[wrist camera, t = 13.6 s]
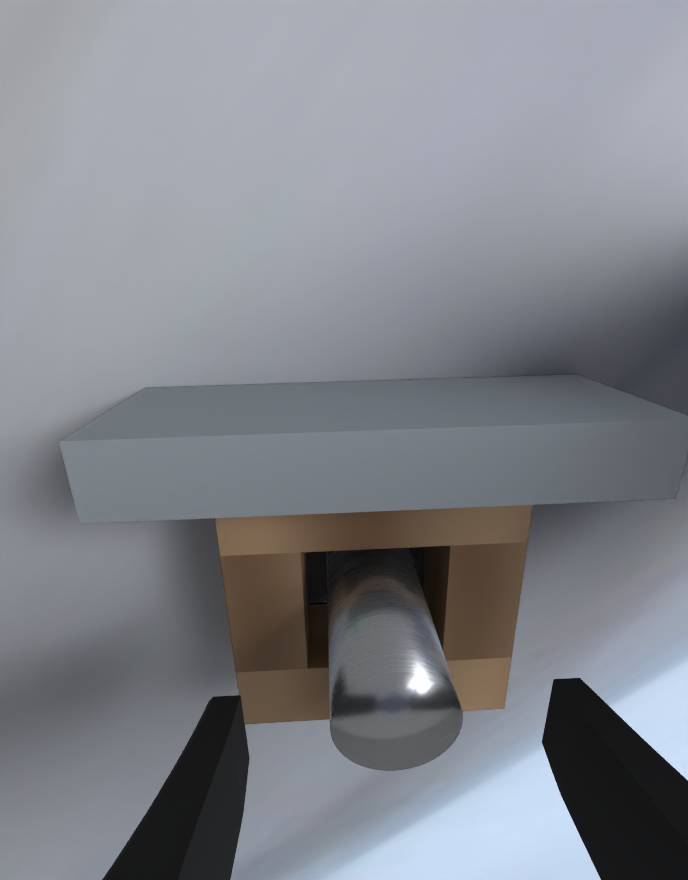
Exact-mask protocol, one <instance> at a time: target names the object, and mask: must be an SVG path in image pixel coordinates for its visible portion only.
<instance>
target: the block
mask: <svg viewBox="0 0 688 880" xmlns="http://www.w3.org/2000/svg"><path fill="white" fill-rule="evenodd" d="M532 507H533V505H516V506H493V507H469V508H445V509H422V510H398V511H374V512H351V513H327V514H303V515H280V516H256V517H232V518H215V523H216V530H217V538H218V545H219V552H220V560H221V567H222V574H223V582H224V589H225V596H226V604H227V611H228V618H229V626H230V633H231V640H232V648H233V655H234V663H235V670H236V677H237V685H238V692H239V695H241V701H242V708H243V716H244V723H245V724H257V723H274V722H290V721H307V720H324V719H330V696H329V649H328V604H317V605H310V599H309V582H308V565H307V552H321V551H343V550H365V549H387V548H409V547H425V562H424V583H423V592H424V596H425V599H426V602H427V605H428V608H429V611H430V614H431V617H432V620H433V623H434V626H435V629H436V632H437V635H438V638H439V641H440V644H441V647H442V650H443V653H444V657H445V660H446V663H447V666H448V669H449V672H450V675H451V678H452V681H453V684H454V687H455V690H456V693H457V696H458V699H459V702H460V705H461V709H462V711H474V710H491V709H504V708H505V701H506V694H507V687H508V680H509V672H510V665H511V658H512V651H513V644H514V636H515V629H516V622H517V615H518V608H519V600H520V593H521V586H522V579H523V572H524V564H525V557H526V550H527V543H528V536H529V529H530V521H531V514H532Z"/></svg>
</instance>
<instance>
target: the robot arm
mask: <svg viewBox="0 0 688 880" xmlns="http://www.w3.org/2000/svg"><path fill="white" fill-rule="evenodd" d="M542 744H543V746H544V749H545V752H546V755H547V758H548V761H549V764H550V766H551V769H552V772H553V775H554V777H555V780H556V783H557V785H558V788H559V791H560V793H561V796H562V798H563V800H564V802H565V805H566V807H567V809H568V811H569V813H570V815H571V817H572V819H573V822H574V824H575V826H576V828H577V830H578V832H579V834H580V836H581V839H582V841H583V843H584V845H585V847H586V849H587V851H588V853H589V855H590V857H591V860H592V862H593V864H594V866H595V868H596V870H597V872H598V874H599V876H600V878H601V880H688V780H686V779H685V778H684V777H683V776H682V775H681V774H680V773H679V772H678V771H677V770H676V769H675V768H673V767H672V766H671V765H670V764H669V763H668V762H667V761H666V760H665V759H664V758H663V757H662V756H660V755H659V754H658V753H657V752H656V751H655V750H654V749H653V748H652V747H651V746H650V745H649V744H648V743H647V742H646V741H644V740H643V739H642V738H641V737H640V736H639V735H638V734H637V733H636V732H635V731H634V730H633V729H632V728H631V727H630V726H629V725H628V724H627V723H626V722H625V721H624V720H623V719H622V718H621V717H620V716H618V715H617V714H616V713H615V712H614V711H613V710H612V709H611V708H610V707H609V706H608V705H607V704H606V703H605V702H604V701H603V700H602V699H601V698H600V697H599V696H598V695H597V694H596V693H595V692H594V691H593V690H592V689H591V688H590V687H589V686H588V685H586V684H585V683H584V682H583V681H582V680H581V679H580V678H569V679H554V681H553V686H552V691H551V697H550V702H549V707H548V712H547V718H546V723H545V728H544V734H543V739H542ZM248 766H249V753H248V745H247V738H246V731H245V723H244V716H243V708H242V701H241V695H238V696H219V697H213V698H212V699H211V700H210V701H209V702H208V704H207V707H206V709H205V711H204V713H203V715H202V717H201V719H200V721H199V722H198V724H197V726H196V728H195V730H194V732H193V734H192V736H191V738H190V739H189V741H188V743H187V745H186V747H185V749H184V750H183V752H182V754H181V756H180V757H179V759H178V761H177V763H176V765H175V766H174V768H173V770H172V771H171V773H170V775H169V776H168V778H167V780H166V781H165V783H164V785H163V786H162V788H161V790H160V791H159V793H158V795H157V797H156V798H155V800H154V802H153V803H152V805H151V806H150V808H149V810H148V811H147V813H146V814H145V816H144V818H143V819H142V821H141V822H140V824H139V825H138V827H137V828H136V830H135V831H134V833H133V834H132V836H131V838H130V839H129V841H128V842H127V844H126V845H125V847H124V848H123V850H122V851H121V853H120V854H119V856H118V858H117V859H116V861H115V862H114V863H113V865H112V866H111V868H110V869H109V871H108V872H107V874H106V875H105V877H104V878H103V879H102V880H230V878H231V873H232V868H233V863H234V858H235V853H236V848H237V843H238V838H239V833H240V827H241V822H242V817H243V811H244V802H245V793H246V784H247V775H248Z"/></svg>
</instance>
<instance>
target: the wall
mask: <svg viewBox="0 0 688 880" xmlns="http://www.w3.org/2000/svg"><path fill="white" fill-rule="evenodd" d="M59 445H60V449H61V453H62V456H63V460H64V464H65V468H66V472H67V476H68V480H69V484H70V488H71V492H72V496H73V500H74V504H75V507H76V511H77V515H78V519H79V523H80V524H90V523H114V522H138V521H161V520H185V519H209V518H232V517H256V516H280V515H303V514H327V513H351V512H374V511H398V510H422V509H445V508H469V507H493V506H516V505H540V504H564V503H587V502H611V501H635V500H658V499H676V497H677V494H678V490H679V486H680V482H681V478H682V474H683V471H684V467H685V463H686V459H687V455H688V415H685V414H682V413H680V412H677V411H674V410H671V409H669V408H666V407H663V406H661V405H658V404H655V403H653V402H650V401H647V400H645V399H642V398H639V397H637V396H634V395H631V394H628V393H626V392H623V391H620V390H618V389H615V388H612V387H610V386H607V385H604V384H602V383H599V382H596V381H594V380H591V379H588V378H585V377H583V376H580V375H577V374H569V375H537V376H505V377H472V378H440V379H408V380H376V381H343V382H311V383H279V384H246V385H214V386H182V387H150V388H144V389H143V390H141V391H140V392H138V393H136V394H135V395H133V396H131V397H130V398H128V399H127V400H125V401H123V402H122V403H120V404H119V405H117V406H115V407H114V408H112V409H110V410H109V411H107V412H106V413H104V414H102V415H101V416H99V417H97V418H96V419H94V420H93V421H91V422H89V423H88V424H86V425H85V426H83V427H81V428H80V429H78V430H76V431H75V432H73V433H72V434H70V435H68V436H67V437H65V438H64V439H62V440H60V441H59Z"/></svg>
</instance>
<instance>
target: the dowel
mask: <svg viewBox="0 0 688 880" xmlns="http://www.w3.org/2000/svg"><path fill="white" fill-rule="evenodd" d="M326 556H327V603H328V649H329V696H330V731H331V736H332V740H333V742H334V744H335V746H336V747H337V749H338V750H339V751H340V752H341V753H342V754H343V755H344V756H345V757H346V758H348V759H349V760H351V761H352V762H354V763H356V764H359V765H361V766H364V767H367V768H371V769H376V770H385V771H394V770H403V769H409V768H413V767H417V766H420V765H422V764H425V763H427V762H429V761H431V760H433V759H435V758H436V757H438V756H440V755H441V754H442V753H443V752H445V751H446V750H447V749H448V748H449V747H450V746H451V745H452V744H453V742H454V741H455V740H456V738H457V736H458V734H459V732H460V730H461V726H462V720H463V714H462V709H461V705H460V702H459V699H458V696H457V693H456V690H455V687H454V684H453V681H452V678H451V675H450V672H449V669H448V666H447V663H446V660H445V657H444V653H443V650H442V647H441V644H440V641H439V638H438V635H437V632H436V629H435V626H434V623H433V620H432V617H431V614H430V611H429V608H428V605H427V602H426V599H425V596H424V592H423V589H422V586H421V583H420V580H419V577H418V574H417V571H416V568H415V565H414V562H413V559H412V556H411V553H410V550H409V548H387V549H365V550H343V551H326Z"/></svg>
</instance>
